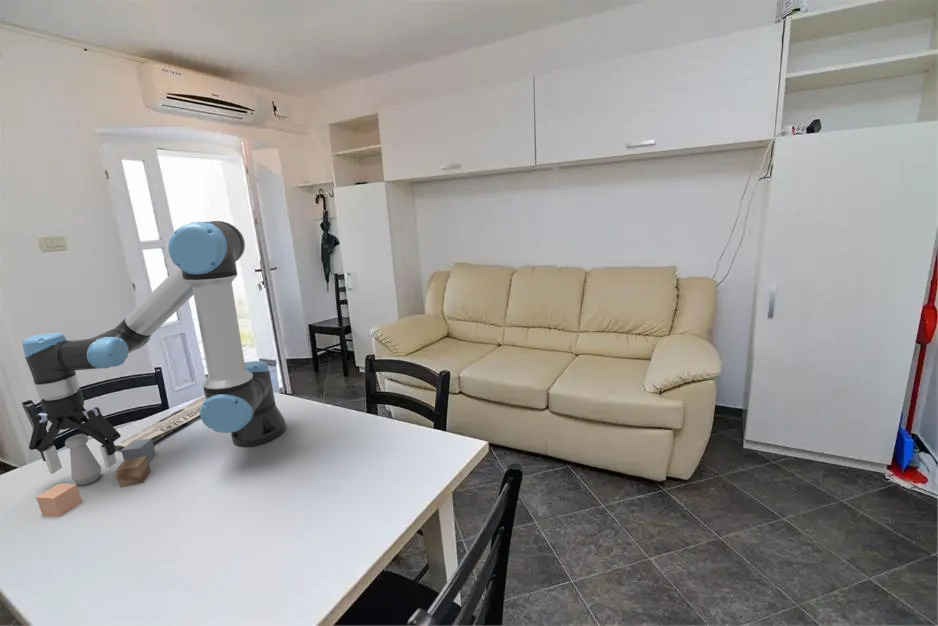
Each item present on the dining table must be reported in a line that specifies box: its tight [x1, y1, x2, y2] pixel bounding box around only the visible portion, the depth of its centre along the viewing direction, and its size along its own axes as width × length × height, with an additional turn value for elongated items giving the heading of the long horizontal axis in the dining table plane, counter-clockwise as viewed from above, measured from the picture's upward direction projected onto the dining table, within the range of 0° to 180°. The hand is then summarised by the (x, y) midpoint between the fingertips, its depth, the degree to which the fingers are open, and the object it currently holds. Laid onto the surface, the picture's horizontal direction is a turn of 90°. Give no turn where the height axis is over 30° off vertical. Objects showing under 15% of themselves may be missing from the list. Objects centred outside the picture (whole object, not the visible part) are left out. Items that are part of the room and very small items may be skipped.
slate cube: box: [120, 439, 157, 461], centre depth 118 cm, size 5×5×5 cm
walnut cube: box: [114, 456, 152, 488], centre depth 109 cm, size 5×5×5 cm
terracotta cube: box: [35, 483, 83, 517], centre depth 99 cm, size 5×5×5 cm
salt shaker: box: [64, 433, 102, 486], centre depth 109 cm, size 6×6×13 cm
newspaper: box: [114, 395, 206, 450], centre depth 139 cm, size 35×12×4 cm, turn 168°
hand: (84, 468), depth 110 cm, fingers open, 13 cm apart
